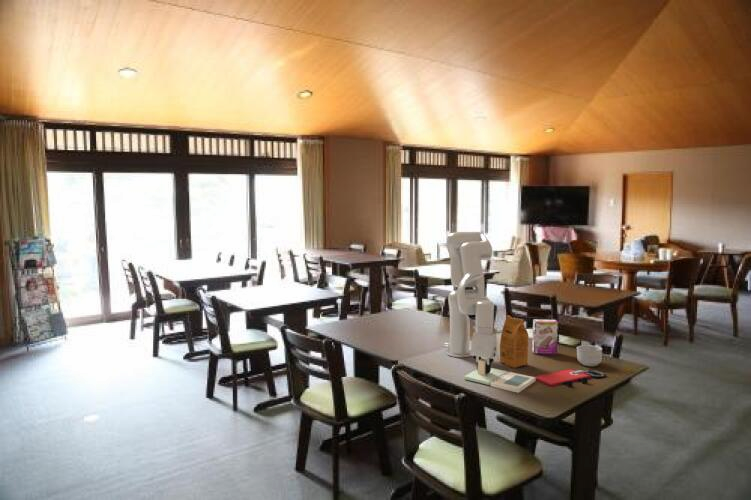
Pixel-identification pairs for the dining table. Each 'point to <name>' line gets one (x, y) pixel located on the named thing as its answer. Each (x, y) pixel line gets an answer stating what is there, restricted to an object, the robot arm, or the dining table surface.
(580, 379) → the red board with handle
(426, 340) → the dining table surface
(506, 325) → the coffee package
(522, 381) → the ticket board
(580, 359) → the teacup
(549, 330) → the candy bar box
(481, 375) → the green board with block
